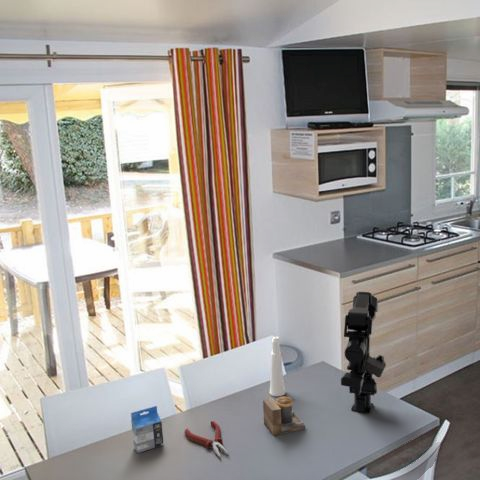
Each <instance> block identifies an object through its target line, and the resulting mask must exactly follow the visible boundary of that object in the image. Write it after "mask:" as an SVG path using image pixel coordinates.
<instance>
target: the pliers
mask: <svg viewBox="0 0 480 480" xmlns="http://www.w3.org/2000/svg"><path fill="white" fill-rule="evenodd" d="M210 426H211V427H212V428H213V430H215V434H214V440H212V439H209V438H206V437H203V436H200V435H197V434H195V433H192V432H191V431H190V429H189V428H186V429H184V433H183V434H184V435H185V437H186V438H187V440H188V441H191V442H193V443H195V444H198V445H201V446H204V447H205V450H209V449H212V451H213V452H214V454H215V455H217V456H218V458H219V459H222V456H221V454H220V452H221V453H222V454H225V455H227V456H230V454H229V452H228V451H227V450H226V449H225V447H224V446H223V438H222V437H221V427H220V426H219V424H218V423H217V422H216V421H214V420H211V421H210Z"/></svg>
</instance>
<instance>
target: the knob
mask: <svg viewBox="0 0 480 480" xmlns="http://www.w3.org/2000/svg"><path fill="white" fill-rule="evenodd" d="M275 403H276V404H277V405H278V406H279V407H280V408H281V427H282V426H287V425H291V424H295V421H294V420H293V419H292V412H293V399H292V397H289V396H278V398H276V400H275Z"/></svg>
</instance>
